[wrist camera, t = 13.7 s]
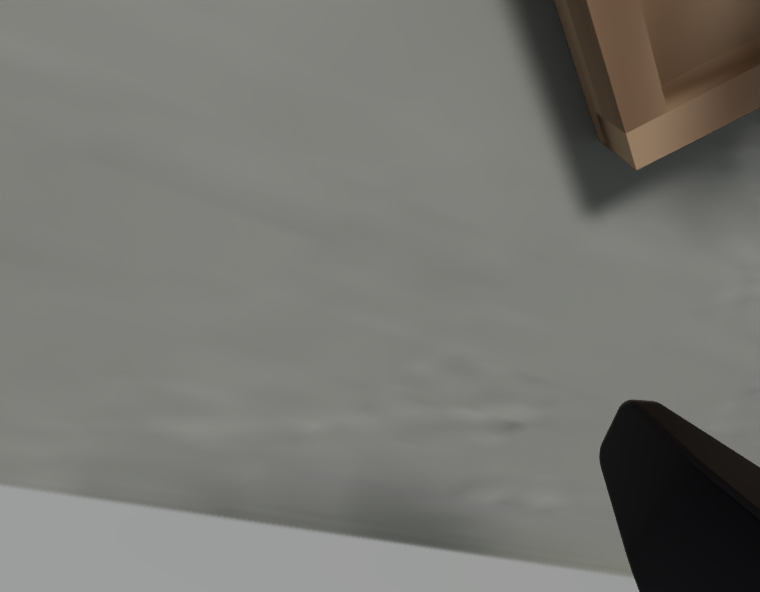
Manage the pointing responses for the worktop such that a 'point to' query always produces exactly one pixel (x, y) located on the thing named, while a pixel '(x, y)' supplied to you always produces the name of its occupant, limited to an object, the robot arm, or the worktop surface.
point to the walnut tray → (663, 69)
